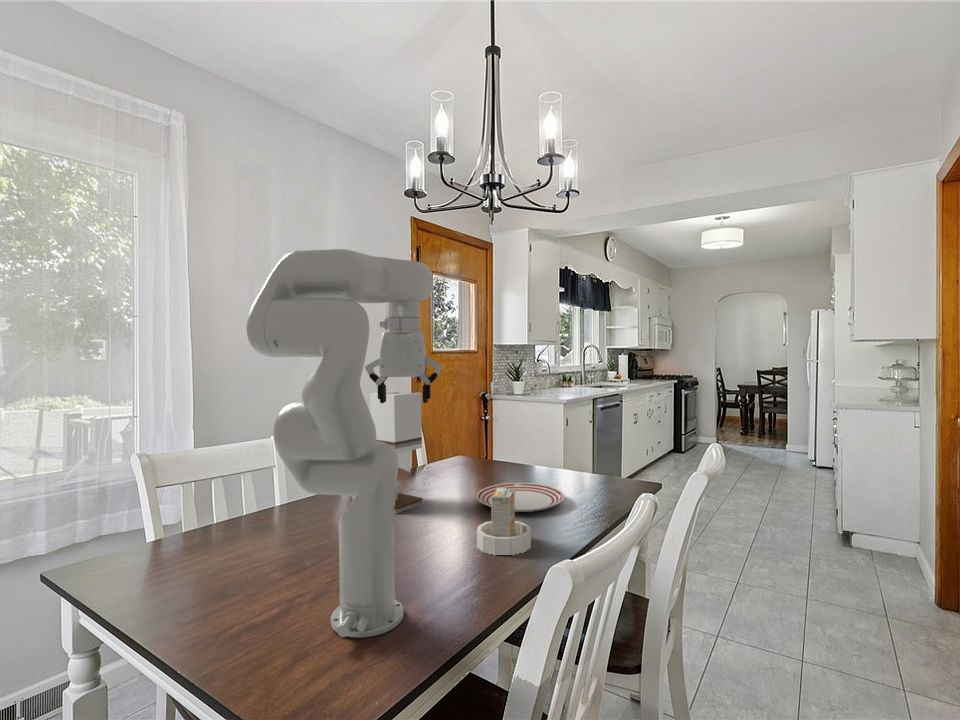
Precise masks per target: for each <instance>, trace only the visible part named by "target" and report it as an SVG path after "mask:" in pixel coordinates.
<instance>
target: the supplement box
mask: <svg viewBox="0 0 960 720" xmlns="http://www.w3.org/2000/svg"><path fill="white" fill-rule="evenodd" d="M490 508H491V521H492V536H495V537H513V536H515V521H516V520H515V519H516V513H515V489H511V488H497V489H496V491H495V492H494V493H493V495H492V496H491V507H490Z"/></svg>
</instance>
